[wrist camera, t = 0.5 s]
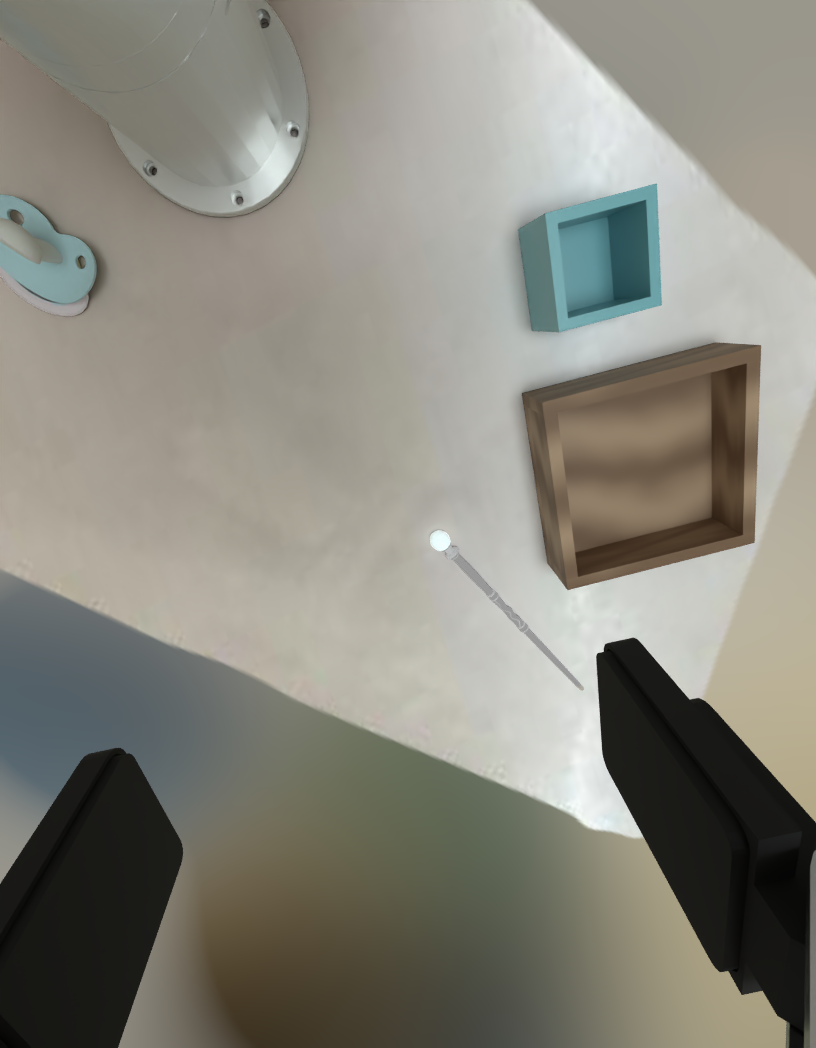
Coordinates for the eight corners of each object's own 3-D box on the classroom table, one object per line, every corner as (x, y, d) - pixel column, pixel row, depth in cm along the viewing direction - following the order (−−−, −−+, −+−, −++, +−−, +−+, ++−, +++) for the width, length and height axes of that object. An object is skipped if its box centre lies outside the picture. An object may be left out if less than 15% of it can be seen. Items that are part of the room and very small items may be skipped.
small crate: (517, 230, 36) (545, 213, 31) (612, 204, 36) (656, 183, 30) (531, 330, 39) (559, 332, 33) (619, 307, 39) (661, 305, 33)
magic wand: (576, 682, 54) (574, 697, 53) (429, 529, 45) (423, 543, 44) (591, 681, 53) (589, 696, 52) (443, 523, 44) (437, 537, 43)
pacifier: (84, 335, 37) (119, 262, 35) (30, 341, 31) (69, 253, 29) (-20, 268, 35) (12, 186, 33) (-98, 260, 29) (-64, 161, 27)
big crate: (522, 393, 40) (542, 402, 36) (715, 342, 40) (761, 345, 35) (547, 563, 46) (567, 589, 42) (715, 520, 46) (754, 542, 42)
